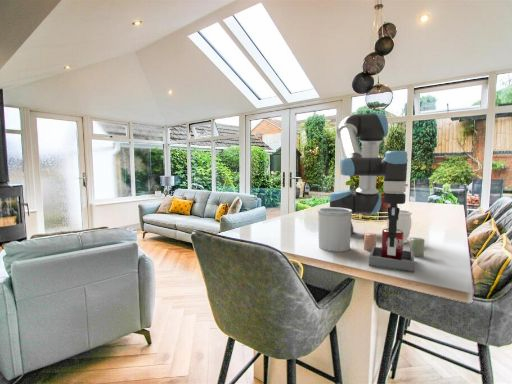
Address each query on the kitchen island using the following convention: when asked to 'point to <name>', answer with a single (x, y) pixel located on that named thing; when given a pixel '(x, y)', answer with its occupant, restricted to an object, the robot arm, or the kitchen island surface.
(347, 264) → the kitchen island surface
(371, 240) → the peach glossy rounded knob
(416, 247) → the sage green capsule
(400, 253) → the soda can
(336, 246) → the utensil holder
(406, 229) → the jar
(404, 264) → the tray
